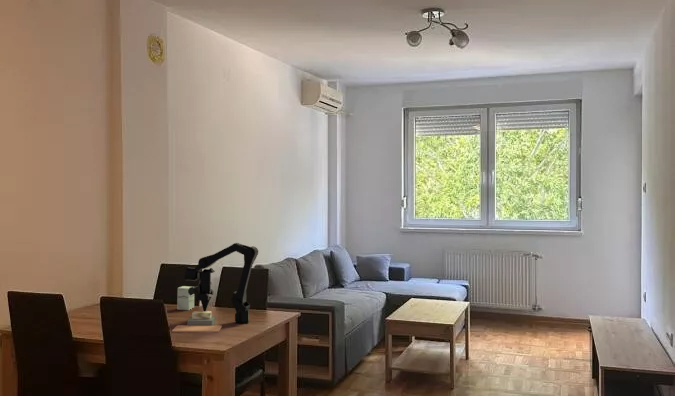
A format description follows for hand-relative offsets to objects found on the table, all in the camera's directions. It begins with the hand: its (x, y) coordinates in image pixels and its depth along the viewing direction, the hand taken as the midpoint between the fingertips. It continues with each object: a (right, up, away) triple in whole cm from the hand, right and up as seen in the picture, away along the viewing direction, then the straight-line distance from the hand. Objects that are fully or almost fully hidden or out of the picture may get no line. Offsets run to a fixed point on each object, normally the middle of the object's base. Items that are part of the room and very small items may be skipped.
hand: (204, 311), depth 318 cm
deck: (0, -5, -10) cm, 11 cm away
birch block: (0, -1, -8) cm, 8 cm away
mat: (+1, -5, -21) cm, 21 cm away
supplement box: (-18, -5, +32) cm, 37 cm away
